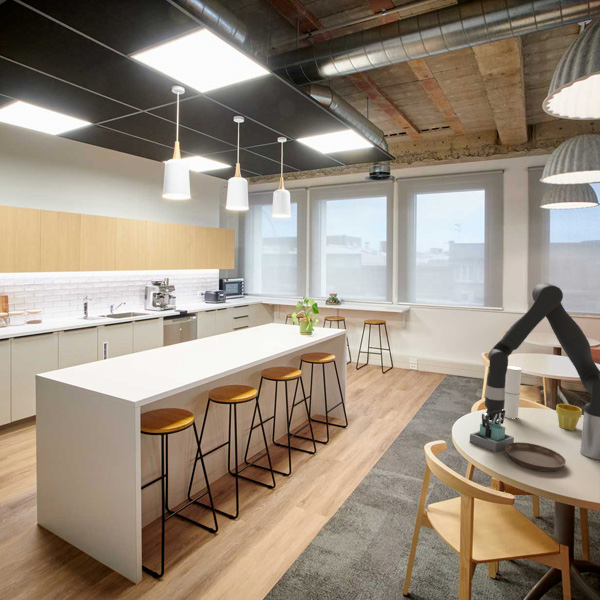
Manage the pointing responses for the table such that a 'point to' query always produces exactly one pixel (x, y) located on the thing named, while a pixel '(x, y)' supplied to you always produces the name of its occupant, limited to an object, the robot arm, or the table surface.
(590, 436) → the robot arm
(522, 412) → the table surface
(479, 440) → the grey rectangular tray
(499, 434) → the small crate
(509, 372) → the cylindrical container
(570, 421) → the plant pot
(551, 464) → the plant saucer
